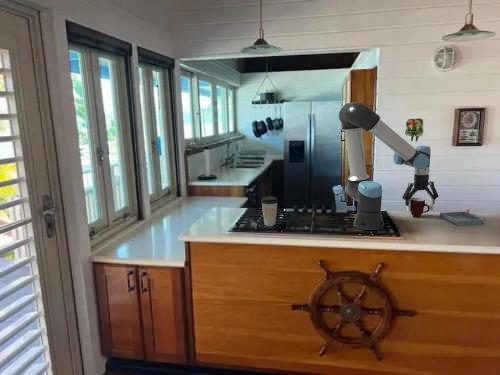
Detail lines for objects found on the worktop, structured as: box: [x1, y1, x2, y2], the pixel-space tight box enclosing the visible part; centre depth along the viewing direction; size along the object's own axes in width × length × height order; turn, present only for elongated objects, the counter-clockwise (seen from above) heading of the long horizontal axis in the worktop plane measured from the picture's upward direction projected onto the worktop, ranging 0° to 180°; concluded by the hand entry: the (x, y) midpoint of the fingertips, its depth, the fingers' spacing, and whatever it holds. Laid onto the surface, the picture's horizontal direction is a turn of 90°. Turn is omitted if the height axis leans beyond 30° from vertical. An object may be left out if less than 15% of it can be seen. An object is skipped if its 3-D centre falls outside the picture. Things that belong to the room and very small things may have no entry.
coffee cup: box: [260, 196, 279, 227], centre depth 204 cm, size 9×9×15 cm
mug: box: [409, 197, 430, 218], centre depth 213 cm, size 10×8×10 cm
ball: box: [462, 208, 471, 214], centre depth 215 cm, size 4×4×4 cm
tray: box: [439, 210, 485, 226], centre depth 205 cm, size 15×16×2 cm
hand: (419, 210), depth 213 cm, fingers open, 13 cm apart
